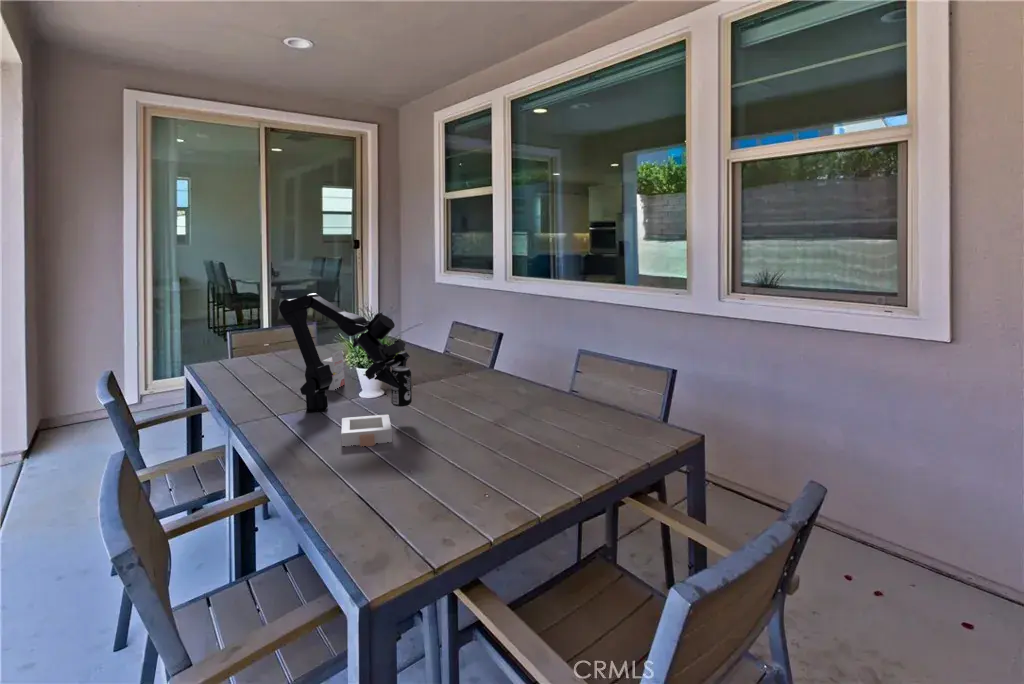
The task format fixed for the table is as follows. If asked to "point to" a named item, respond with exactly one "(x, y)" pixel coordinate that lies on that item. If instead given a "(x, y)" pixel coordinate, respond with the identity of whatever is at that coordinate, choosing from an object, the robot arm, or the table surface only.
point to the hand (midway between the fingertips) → (404, 384)
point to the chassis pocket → (366, 430)
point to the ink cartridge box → (336, 369)
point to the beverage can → (401, 386)
